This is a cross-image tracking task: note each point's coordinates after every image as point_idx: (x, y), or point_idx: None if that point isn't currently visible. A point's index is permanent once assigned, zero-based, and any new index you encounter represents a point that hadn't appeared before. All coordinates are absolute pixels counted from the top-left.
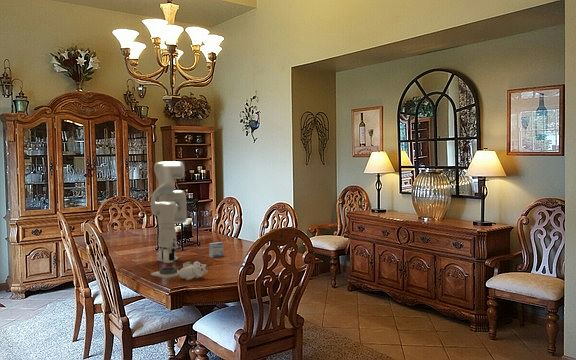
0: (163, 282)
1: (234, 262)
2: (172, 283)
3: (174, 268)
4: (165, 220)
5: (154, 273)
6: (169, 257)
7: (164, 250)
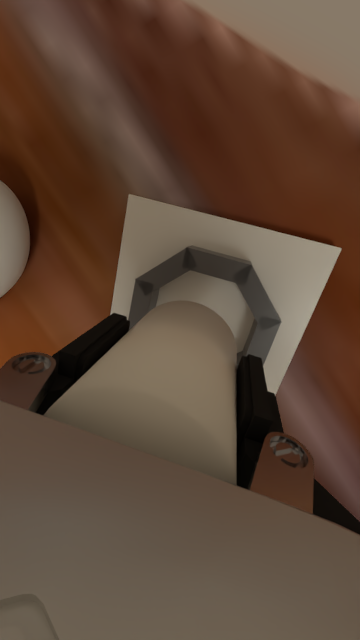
0: (81, 55)
1: None
2: (2, 65)
3: None
4: None
5: (298, 247)
6: (104, 325)
7: (151, 382)
